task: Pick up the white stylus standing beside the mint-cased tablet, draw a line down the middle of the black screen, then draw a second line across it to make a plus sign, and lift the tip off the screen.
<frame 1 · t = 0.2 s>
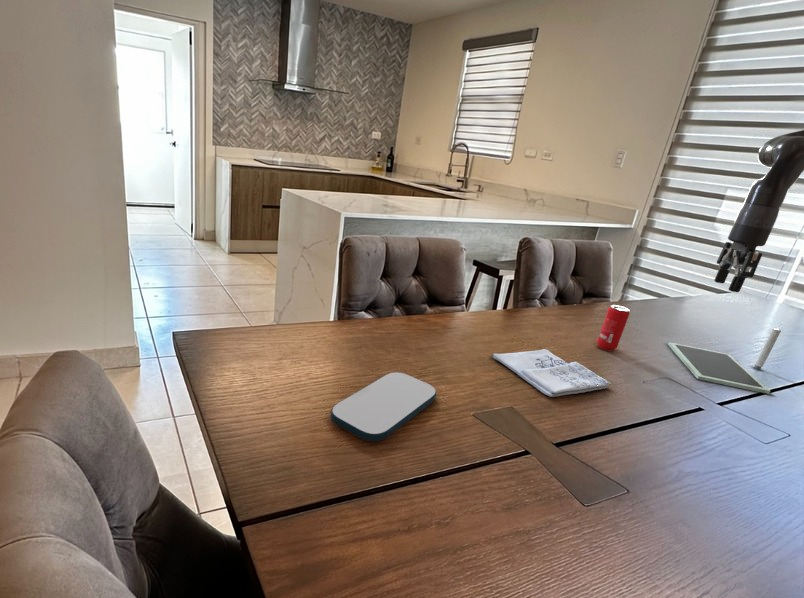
hand: (725, 286, 121), 22 cm above the table, tool pointing down, fingers open, 8 cm apart
stylus: (756, 368, 131), on the table
tablet: (713, 367, 128), on the table
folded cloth: (547, 373, 113), on the table
beverage can: (605, 348, 132), on the table
external hard drive: (385, 409, 90), on the table
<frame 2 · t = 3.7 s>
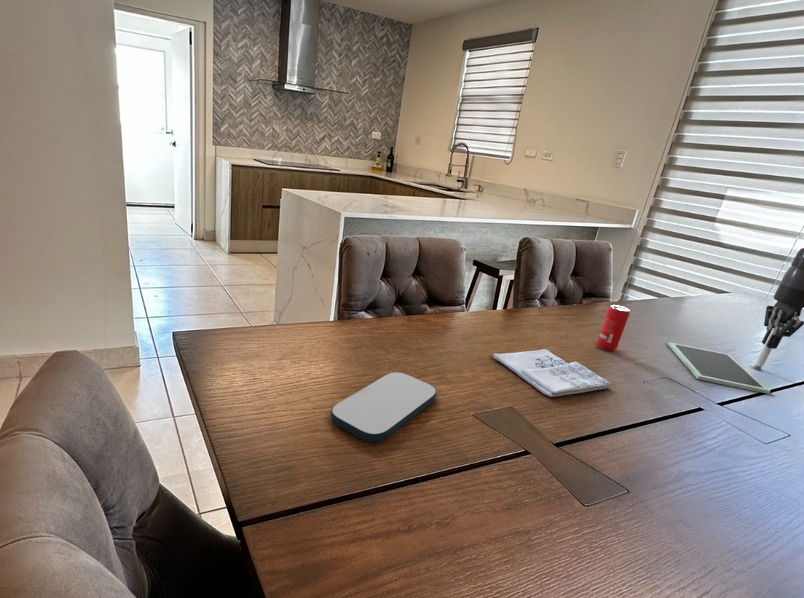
hand: (768, 345, 128), 7 cm above the table, tool pointing down, fingers closed on stylus, 2 cm apart
stylus: (757, 368, 131), on the table, touching gripper
everything else where it was.
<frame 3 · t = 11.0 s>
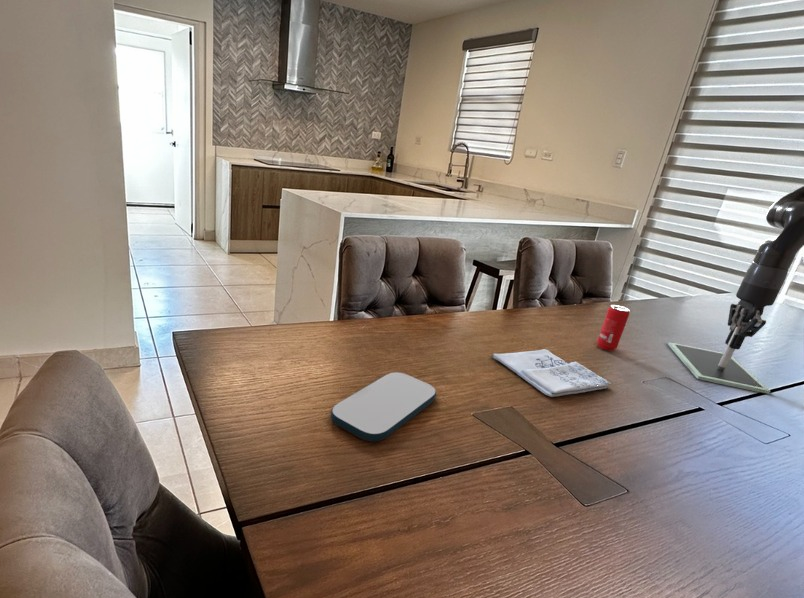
hand: (731, 346, 122), 8 cm above the table, tool pointing down, fingers closed on stylus, 2 cm apart
stylus: (720, 369, 125), point 1 cm above the table, touching gripper
everything else where it was.
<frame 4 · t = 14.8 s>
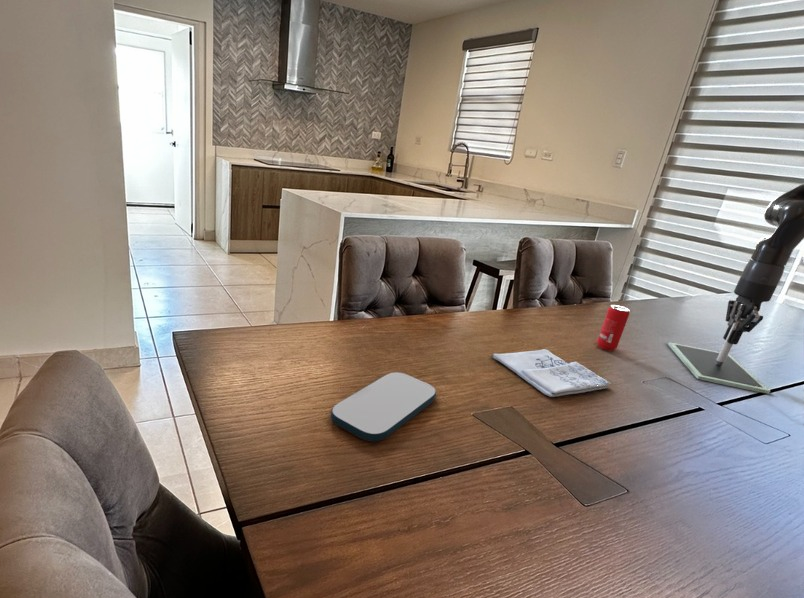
hand: (729, 341, 125), 8 cm above the table, tool pointing down, fingers closed on stylus, 2 cm apart
stylus: (718, 364, 127), point 1 cm above the table, touching gripper
everything else where it was.
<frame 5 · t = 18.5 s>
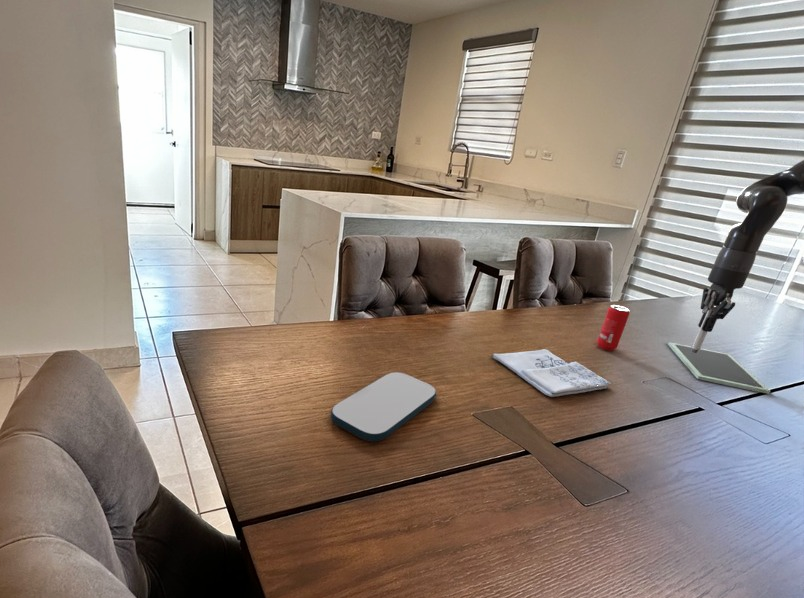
hand: (704, 329, 125), 10 cm above the table, tool pointing down, fingers closed on stylus
stylus: (694, 352, 128), point 3 cm above the table, touching gripper
everything else where it was.
at the end: the gripper is holding stylus; stylus 0.0 cm from the target spot, point 3.2 cm above the table; stylus moved 20.2 cm from its start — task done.
